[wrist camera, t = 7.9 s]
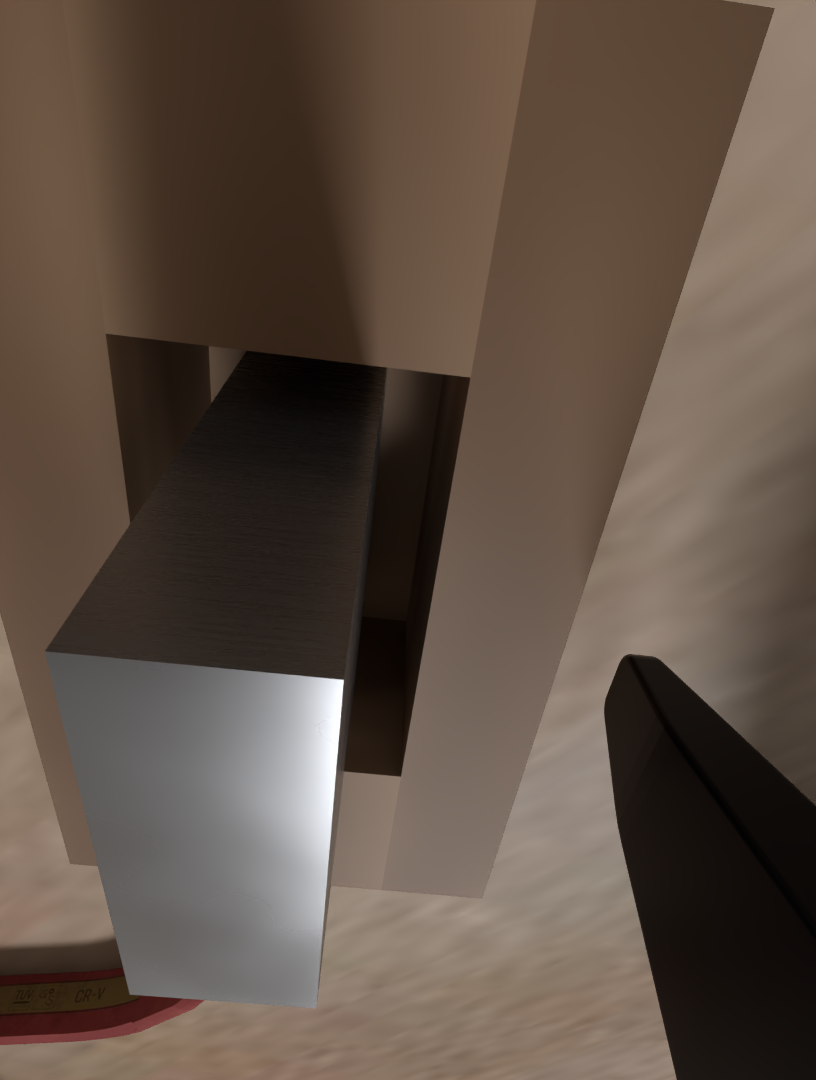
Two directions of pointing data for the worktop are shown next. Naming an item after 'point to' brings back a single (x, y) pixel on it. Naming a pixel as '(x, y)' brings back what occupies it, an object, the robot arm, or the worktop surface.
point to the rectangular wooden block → (357, 327)
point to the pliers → (78, 1007)
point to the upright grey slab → (229, 685)
